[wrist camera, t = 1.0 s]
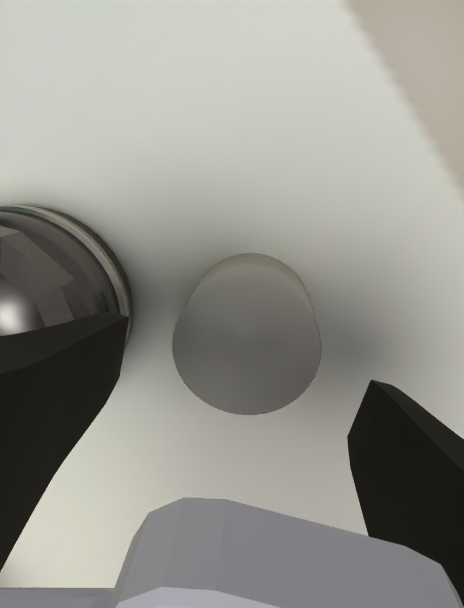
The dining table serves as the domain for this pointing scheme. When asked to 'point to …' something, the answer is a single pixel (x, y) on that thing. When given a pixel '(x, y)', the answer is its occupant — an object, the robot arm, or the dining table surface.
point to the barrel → (55, 271)
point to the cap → (248, 336)
